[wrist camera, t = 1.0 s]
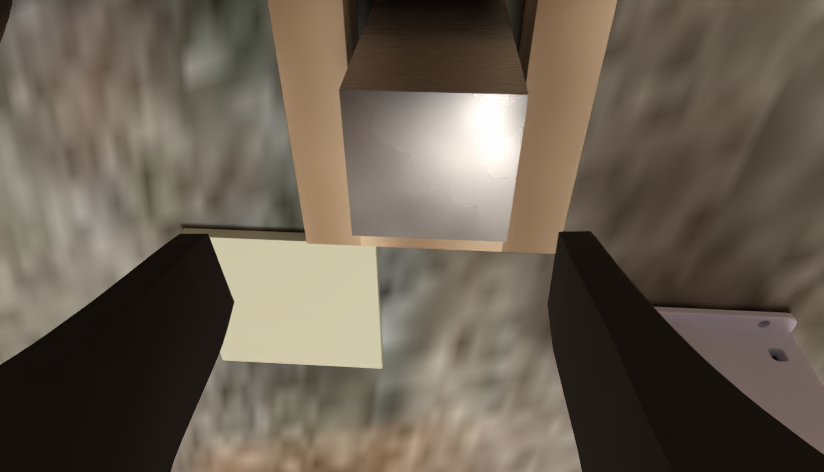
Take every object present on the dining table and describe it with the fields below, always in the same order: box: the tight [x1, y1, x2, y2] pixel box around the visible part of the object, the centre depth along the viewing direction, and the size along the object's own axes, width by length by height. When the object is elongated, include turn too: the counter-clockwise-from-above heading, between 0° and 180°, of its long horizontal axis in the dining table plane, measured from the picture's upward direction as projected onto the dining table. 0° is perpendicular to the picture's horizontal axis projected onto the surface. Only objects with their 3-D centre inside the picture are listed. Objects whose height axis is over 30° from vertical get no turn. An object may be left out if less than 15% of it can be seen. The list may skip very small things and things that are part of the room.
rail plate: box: [268, 0, 617, 254], centre depth 18 cm, size 10×14×2 cm
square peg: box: [339, 0, 529, 242], centre depth 15 cm, size 4×4×8 cm
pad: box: [180, 228, 383, 369], centre depth 27 cm, size 9×9×1 cm
